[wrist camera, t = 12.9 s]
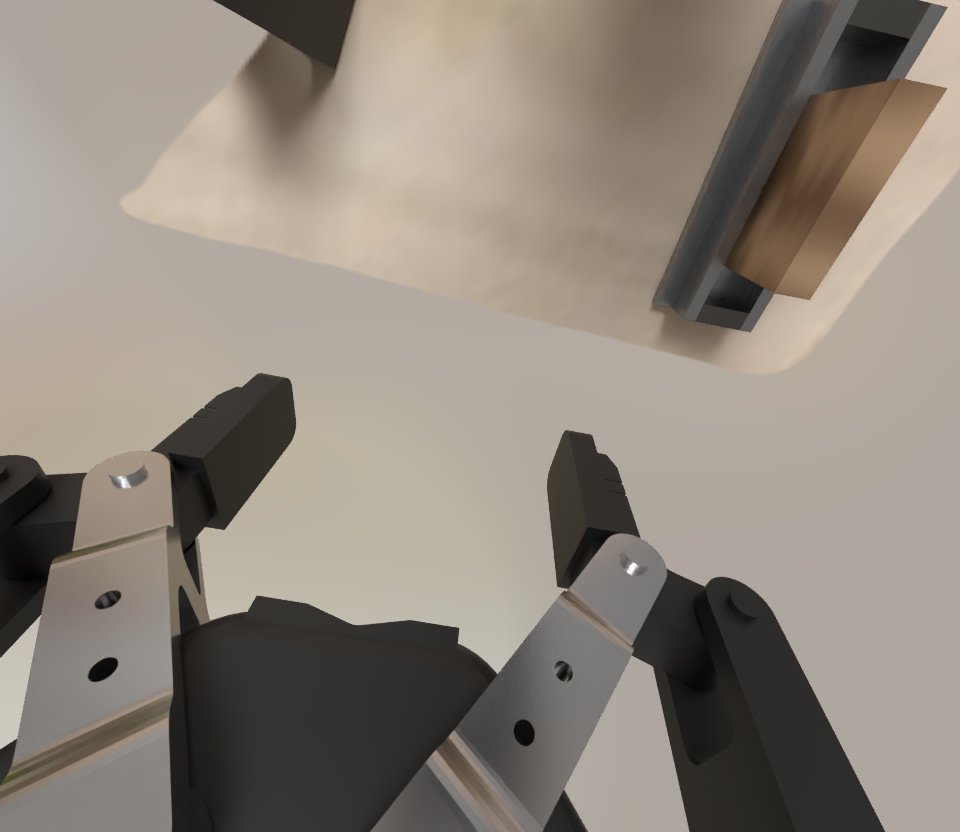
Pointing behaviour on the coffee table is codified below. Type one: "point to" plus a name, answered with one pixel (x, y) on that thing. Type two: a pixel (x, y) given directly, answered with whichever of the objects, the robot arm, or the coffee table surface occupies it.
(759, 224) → the door panel
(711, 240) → the bottom track
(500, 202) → the coffee table surface
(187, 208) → the coffee table surface
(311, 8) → the phone stand
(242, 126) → the coffee table surface
